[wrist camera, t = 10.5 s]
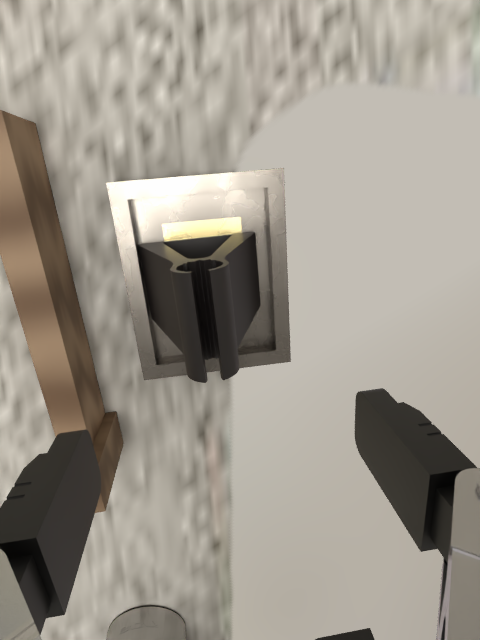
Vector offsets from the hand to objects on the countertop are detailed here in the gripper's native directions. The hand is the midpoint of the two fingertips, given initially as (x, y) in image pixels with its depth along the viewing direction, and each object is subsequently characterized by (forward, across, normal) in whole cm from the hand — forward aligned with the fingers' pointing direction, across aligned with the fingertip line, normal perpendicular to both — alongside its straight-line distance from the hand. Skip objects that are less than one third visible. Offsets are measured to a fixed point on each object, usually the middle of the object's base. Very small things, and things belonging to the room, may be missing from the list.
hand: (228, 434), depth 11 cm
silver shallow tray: (+22, 0, 0) cm, 22 cm away
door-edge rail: (+22, +12, +2) cm, 25 cm away
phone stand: (+20, 0, 0) cm, 20 cm away
